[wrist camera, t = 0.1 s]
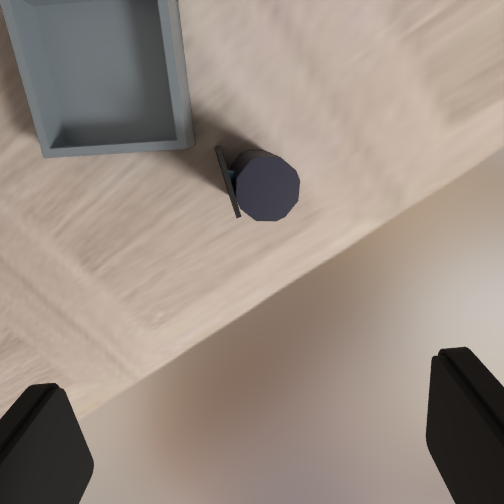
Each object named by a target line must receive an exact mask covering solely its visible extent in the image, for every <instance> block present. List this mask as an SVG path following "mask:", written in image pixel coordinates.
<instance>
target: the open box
mask: <svg viewBox="0 0 504 504" xmlns="http://www.w3.org/2000/svg"><path fill="white" fill-rule="evenodd" d="M0 4H1V8H2V11H3V15H4V18H5V22H6V26H7V29H8V33H9V36H10V40H11V43H12V47H13V51H14V54H15V58H16V61H17V65H18V68H19V72H20V75H21V79H22V83H23V86H24V90H25V93H26V97H27V100H28V104H29V108H30V111H31V115H32V118H33V122H34V125H35V129H36V132H37V136H38V140H39V143H40V147H41V150H42V154H43V157H44V158H55V157H70V156H86V155H101V154H116V153H131V152H146V151H161V150H176V149H187V148H189V147H191V146H193V145H195V138H194V130H193V121H192V113H191V105H190V97H189V88H188V80H187V72H186V63H185V55H184V47H183V39H182V30H181V22H180V14H179V6H178V0H0Z"/></svg>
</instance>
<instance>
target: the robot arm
mask: <svg viewBox="0 0 504 504" xmlns="http://www.w3.org/2000/svg"><path fill="white" fill-rule="evenodd" d="M426 441H427V446H428V449H429V452H430V454H431V456H432V458H433V460H434V462H435V464H436V466H437V468H438V470H439V472H440V474H441V476H442V478H443V480H444V482H445V484H446V486H447V488H448V490H449V492H450V494H451V496H452V498H453V500H454V502H455V503H456V504H504V387H503V386H502V385H501V383H500V382H499V381H498V380H497V379H496V378H495V377H494V376H493V374H492V373H491V372H490V371H489V370H488V369H487V368H486V367H485V366H484V365H483V363H482V362H481V361H480V360H479V359H478V358H477V357H476V356H475V355H474V353H473V352H472V351H471V350H470V349H469V348H467V347H458V348H447V349H441V350H440V351H439V353H438V356H433V357H432V361H431V374H430V389H429V401H428V414H427V427H426ZM93 469H94V461H93V458H92V456H91V453H90V451H89V448H88V446H87V444H86V441H85V439H84V436H83V434H82V431H81V429H80V426H79V424H78V421H77V419H76V417H75V414H74V412H73V409H72V407H71V404H70V402H69V399H68V397H67V395H66V392H65V391H64V389H62V388H60V387H59V386H58V385H57V384H56V383H47V384H36V385H31V386H29V387H28V388H27V389H26V390H25V391H24V392H23V393H22V394H21V396H20V397H19V398H18V399H17V400H16V401H15V403H14V404H13V405H12V406H11V407H10V408H9V410H8V411H7V412H6V413H5V414H4V415H3V417H2V418H1V419H0V504H79V502H80V500H81V498H82V496H83V494H84V491H85V489H86V487H87V485H88V483H89V481H90V479H91V476H92V474H93Z"/></svg>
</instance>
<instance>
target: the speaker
mask: <svg viewBox="0 0 504 504" xmlns="http://www.w3.org/2000/svg"><path fill="white" fill-rule="evenodd" d="M215 150H216V154H217V157H218V160H219V164H220V167H221V170H222V174H223V177H224V180H225V184H226V187H227V190H228V194H229V197H230V200H231V203H232V206H233V209H234V212H235V215H236V218H239V217H241V214H240V211H239V207H240V209H241V210H243V211H244V212H245V213H246V214H248V215H249V216H250V217H252V218H253V219H254V220H256V221H278V220H280V219H282V218H284V217H285V216H286V215H287V214H288V213H289V212H290V210H291V209H292V208H293V207H294V205H295V204H296V203H297V202H298V197H299V186H300V179H299V177H298V174H297V171H296V170H295V169H294V168H292V167H291V166H290V165H289V164H288V163H287V162H285V161H284V160H283V159H282V158H281V157H279V156H276V155H274V154H272V153H269V152H267V151H260V150H247V151H245V152H243V153H241V154H240V155H239V157H238V158H237V159H236V161H235V162H234V163H233V165H232V166H231V167H230V170H227V167H226V163H225V160H224V156H223V153H222V151H221V150H220V148H219V147H218V146H217V147H215ZM237 203H238V204H237ZM238 205H239V207H238Z"/></svg>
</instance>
